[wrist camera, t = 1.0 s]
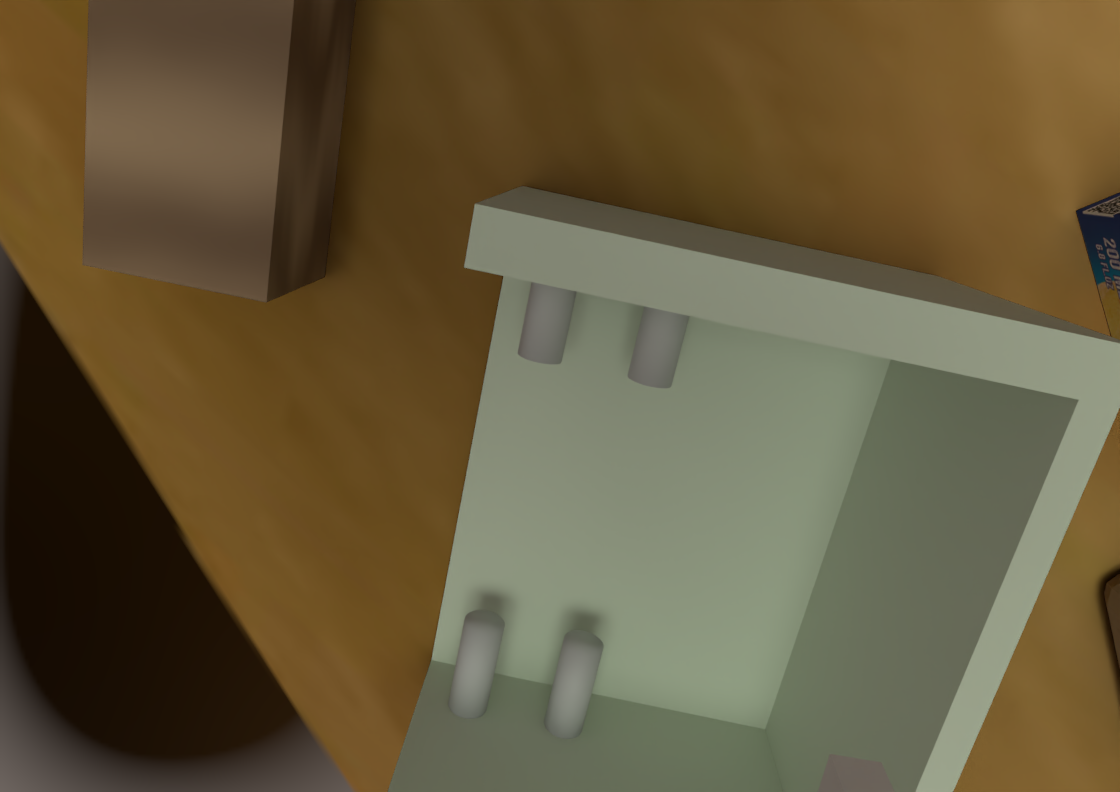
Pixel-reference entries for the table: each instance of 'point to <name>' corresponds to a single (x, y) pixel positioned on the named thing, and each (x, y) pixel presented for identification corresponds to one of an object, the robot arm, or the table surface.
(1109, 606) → the wooden block
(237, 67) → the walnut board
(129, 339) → the table surface
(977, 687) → the open storage box
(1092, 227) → the beverage box
